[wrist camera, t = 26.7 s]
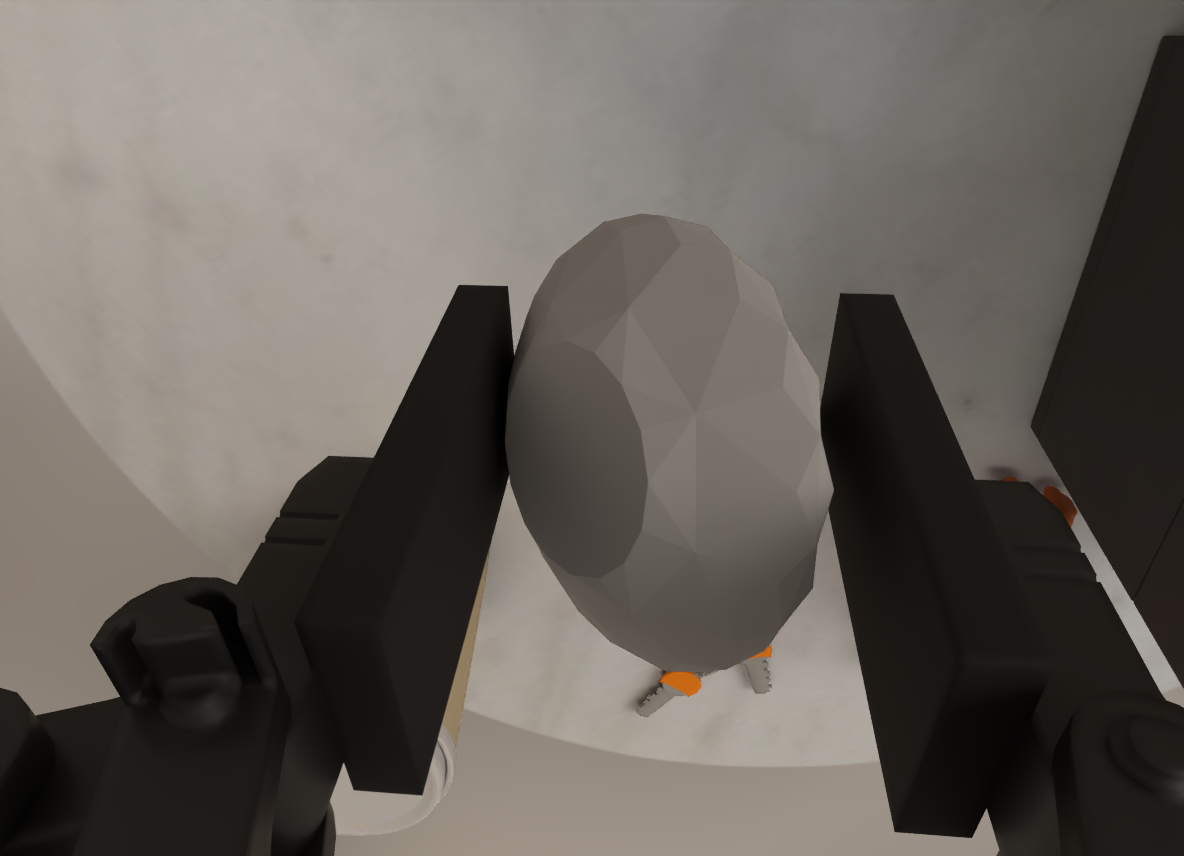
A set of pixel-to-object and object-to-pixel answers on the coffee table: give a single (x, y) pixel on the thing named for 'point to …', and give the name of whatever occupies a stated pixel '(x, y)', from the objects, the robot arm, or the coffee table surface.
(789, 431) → the gemstone
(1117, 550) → the box
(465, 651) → the coffee cup
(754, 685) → the key chain
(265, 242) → the coffee table surface
